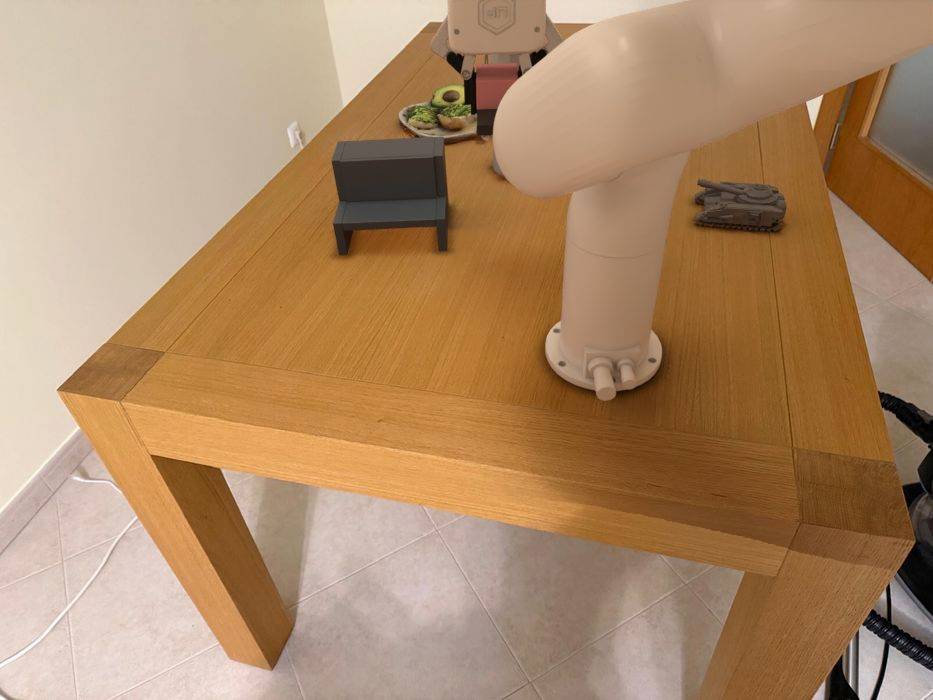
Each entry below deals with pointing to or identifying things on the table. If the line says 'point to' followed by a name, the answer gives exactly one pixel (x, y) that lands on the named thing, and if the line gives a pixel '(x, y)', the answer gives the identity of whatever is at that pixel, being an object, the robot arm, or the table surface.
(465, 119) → the salad plate
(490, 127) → the pink cube on slab
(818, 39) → the robot arm
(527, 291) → the table surface
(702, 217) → the tank toy
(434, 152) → the bench
